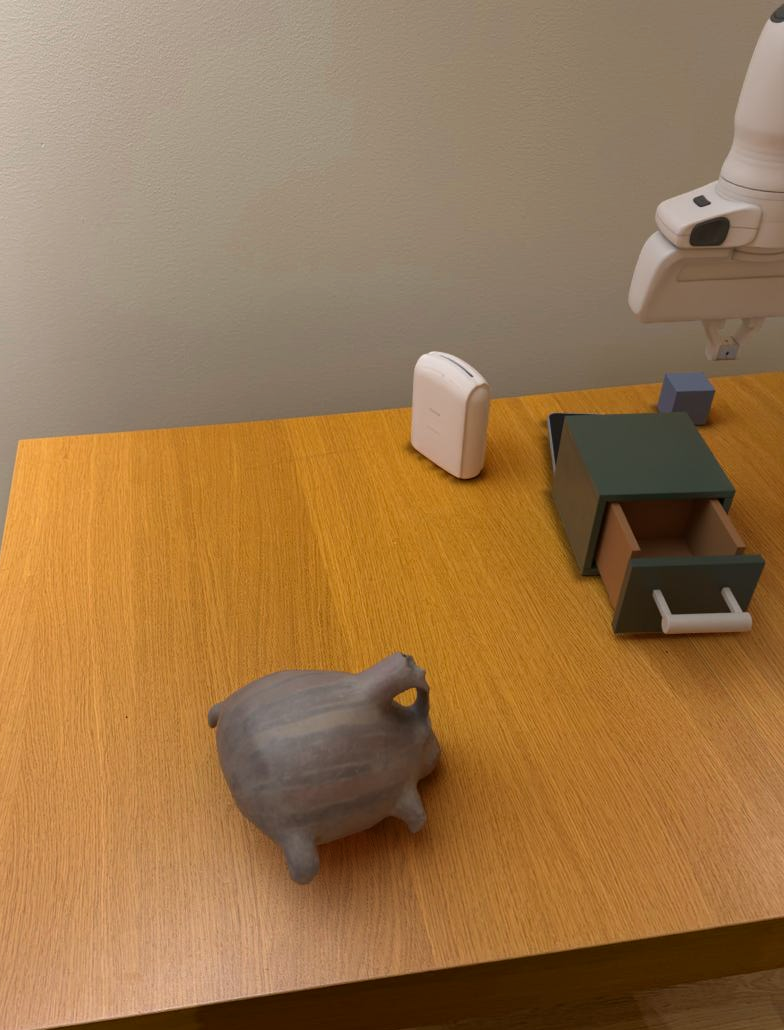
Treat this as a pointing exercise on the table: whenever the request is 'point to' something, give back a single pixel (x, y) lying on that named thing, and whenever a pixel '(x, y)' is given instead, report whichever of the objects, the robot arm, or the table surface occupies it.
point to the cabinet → (629, 470)
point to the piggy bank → (326, 754)
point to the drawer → (675, 567)
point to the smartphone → (557, 432)
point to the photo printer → (450, 413)
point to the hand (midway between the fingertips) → (721, 357)
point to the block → (687, 395)
